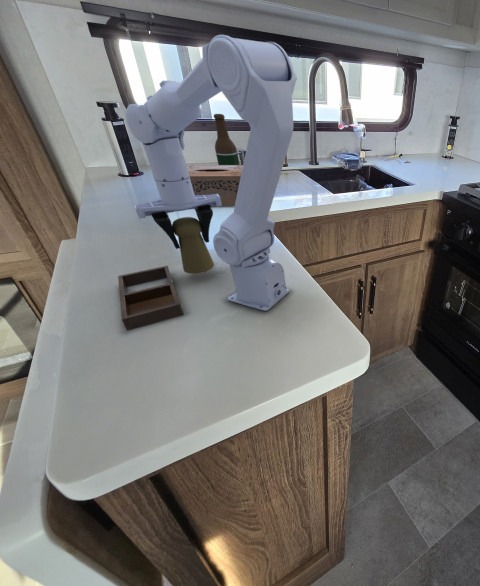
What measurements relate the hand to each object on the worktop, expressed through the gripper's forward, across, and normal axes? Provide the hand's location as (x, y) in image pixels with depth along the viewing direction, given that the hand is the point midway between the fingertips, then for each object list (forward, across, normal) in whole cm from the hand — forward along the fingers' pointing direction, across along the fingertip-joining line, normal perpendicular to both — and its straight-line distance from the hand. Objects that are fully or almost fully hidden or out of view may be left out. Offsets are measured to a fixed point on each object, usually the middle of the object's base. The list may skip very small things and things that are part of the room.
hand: (192, 243), depth 70 cm
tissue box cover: (+8, -18, -50) cm, 54 cm away
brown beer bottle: (+8, -28, -71) cm, 77 cm away
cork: (+6, 0, 0) cm, 6 cm away
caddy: (+8, +10, +4) cm, 14 cm away
